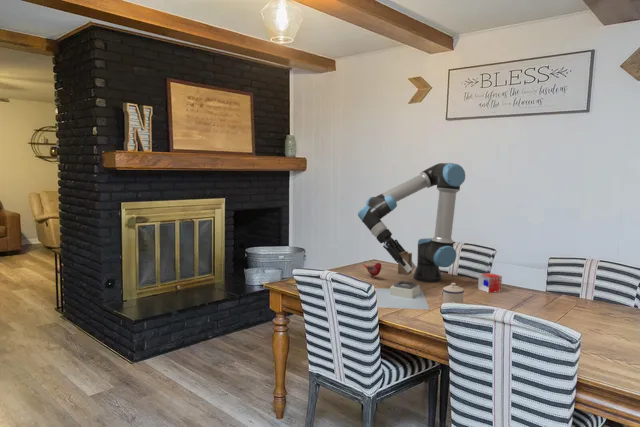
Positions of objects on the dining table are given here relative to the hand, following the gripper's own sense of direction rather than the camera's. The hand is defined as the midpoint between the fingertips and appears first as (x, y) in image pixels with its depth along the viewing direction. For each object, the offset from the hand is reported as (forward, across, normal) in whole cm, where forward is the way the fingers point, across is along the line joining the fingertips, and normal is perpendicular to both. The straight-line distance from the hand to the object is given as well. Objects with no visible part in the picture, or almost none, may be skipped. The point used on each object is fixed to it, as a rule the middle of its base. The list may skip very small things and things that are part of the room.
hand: (412, 269), depth 226 cm
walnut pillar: (-1, 0, -4) cm, 5 cm away
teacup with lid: (+25, +7, +5) cm, 26 cm away
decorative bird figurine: (-13, -24, -32) cm, 43 cm away
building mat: (+7, +7, -12) cm, 16 cm away
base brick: (+7, 0, -12) cm, 14 cm away
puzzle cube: (+31, -34, +12) cm, 47 cm away
